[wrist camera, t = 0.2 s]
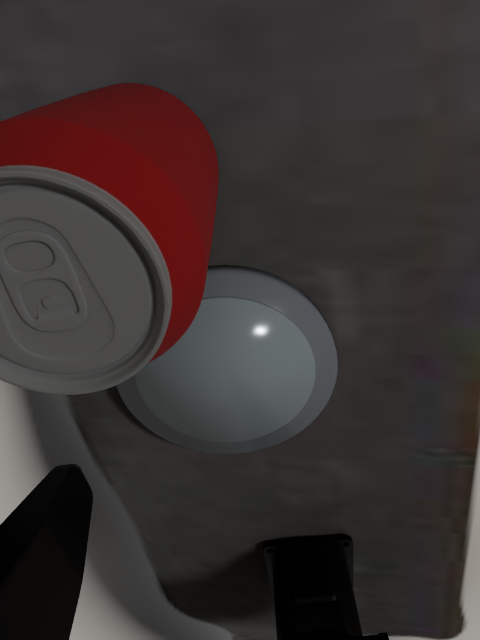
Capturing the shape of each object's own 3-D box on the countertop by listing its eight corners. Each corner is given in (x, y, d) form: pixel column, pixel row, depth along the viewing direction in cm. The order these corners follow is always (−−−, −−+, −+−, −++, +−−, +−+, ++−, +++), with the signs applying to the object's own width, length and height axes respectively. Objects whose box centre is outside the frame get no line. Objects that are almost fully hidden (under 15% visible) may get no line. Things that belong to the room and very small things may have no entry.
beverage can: (93, 250, 22) (-32, 432, 12) (38, 97, 19) (-206, 165, 8) (232, 228, 21) (228, 398, 11) (202, 65, 18) (157, 95, 8)
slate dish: (337, 431, 28) (340, 445, 27) (146, 450, 29) (142, 465, 28) (330, 250, 22) (335, 260, 21) (88, 281, 23) (81, 292, 22)
